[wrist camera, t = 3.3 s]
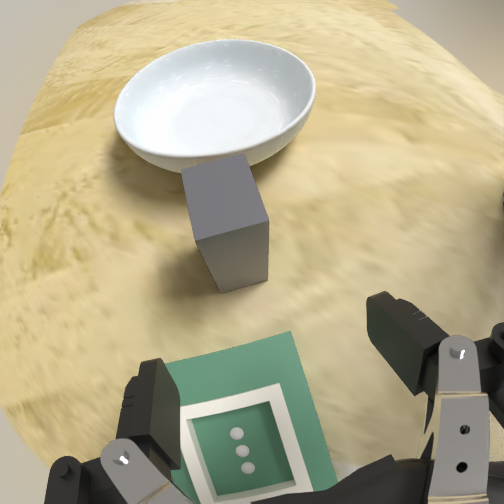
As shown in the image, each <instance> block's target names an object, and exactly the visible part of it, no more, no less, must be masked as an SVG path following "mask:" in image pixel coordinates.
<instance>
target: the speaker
mask: <svg viewBox="0 0 504 504" xmlns="http://www.w3.org/2000/svg"><path fill="white" fill-rule="evenodd" d="M488 475H493V476H499V477H504V461H498V462H489V468H488Z"/></svg>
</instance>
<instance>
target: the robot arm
mask: <svg viewBox="0 0 504 504" xmlns="http://www.w3.org/2000/svg"><path fill="white" fill-rule="evenodd" d="M503 200H504V197H503ZM366 306H367V332H368V336H369V338H370V341H371V342H372V344H373V345H374V346H375V347H376V349H377V350H378V351H379V352H380V354H381V355H382V356H383V357H384V359H385V360H386V361H387V362H388V363H389V365H390V366H391V367H392V368H393V370H394V371H395V372H396V373H397V375H398V376H399V377H400V379H401V380H402V381H403V382H404V384H405V385H406V386H407V387H408V389H409V390H410V391H411V393H412V394H413V395H414V396H416V395H418V394H419V393H421V392H423V391H425V393H426V394H427V398H426V406H425V415H424V423H423V430H422V437H421V442H420V446H419V449H418V452H417V456H416V458H413V459H402V460H397V461H395V460H394V458H393V457H392V455H391V454H390V455H388V456H386V457H384V458H382V459H380V460H378V461H375V462H373V463H371V464H369V465H366V466H364V467H362V468H359V469H358V470H356V471H355V472H353V473H352V474H351V475H349V476H348V477H346V478H345V479H343V480H341V481H340V482H338V483H337V484H335V485H334V486H332V487H330V488H328V489H326V490H322V491H313V492H302V493H288V494H283V495H279V496H275V497H271V498H267V499H262V500H257V501H253V502H250V503H251V504H504V477H499V476H493V475H488V468H489V445H490V424H489V410H490V412H491V413H492V414H493V415H494V417H495V418H496V419H497V421H498V422H499V423H500V425H501V426H502V427H503V428H504V322H502V323H499V324H497V325H495V326H494V328H493V329H492V333H491V336H490V337H489V338H486V339H482V340H479V341H475V342H473V341H472V340H470V339H469V338H467V337H464V336H460V335H454V336H449V335H448V334H447V333H446V332H445V331H443V330H442V329H441V328H440V327H439V326H438V325H437V324H435V323H434V322H433V321H432V320H431V319H430V318H429V317H426V315H425V314H424V313H423V312H422V311H420V310H419V309H418V308H417V307H416V306H414V305H413V304H412V303H411V302H408V301H405V300H403V299H397V300H396V299H395V298H394V297H392V296H391V295H390V294H389V293H388V292H386V291H383V292H381V293H378V294H375V295H373V296H370V297H368V298H367V301H366ZM123 398H124V400H123V402H122V408H121V412H120V418H119V423H118V429H117V434H116V440H114V441H112V442H110V443H109V444H107V445H106V446H105V448H104V449H103V451H102V453H101V457H99V458H96V459H93V460H90V461H87V462H84V463H80V462H79V461H78V460H77V459H76V458H74V457H71V456H64V457H61V458H59V459H58V460H56V461H55V462H54V463H53V465H52V467H51V469H50V473H49V478H48V484H47V490H46V495H45V502H44V504H196V503H195V502H194V501H193V500H192V499H191V498H190V497H189V496H188V495H187V494H185V493H184V492H183V491H182V490H181V489H180V488H179V487H178V486H177V485H176V484H175V483H174V482H173V481H172V480H171V470H179V469H181V447H180V394H179V391H178V388H177V385H176V384H175V382H174V380H173V378H172V376H171V375H170V373H169V371H168V369H167V367H166V366H165V364H164V362H163V360H162V359H161V358H157V359H152V360H147V361H143V362H141V364H140V368H139V373H138V376H134V377H132V378H131V380H130V381H129V383H128V384H127V386H126V388H125V393H124V397H123Z"/></svg>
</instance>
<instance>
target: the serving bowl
mask: <svg viewBox="0 0 504 504" xmlns="http://www.w3.org/2000/svg"><path fill="white" fill-rule="evenodd" d="M315 96H316V83H315V79H314V76H313V74H312V72H311V70H310V69H309V68H308V66H307V65H306V64H305V63H304V62H303V61H302V60H301V59H299V58H298V57H297V56H295V55H294V54H292V53H290V52H289V51H287V50H284V49H282V48H280V47H277V46H274V45H271V44H267V43H263V42H258V41H251V40H240V39H226V40H214V41H207V42H201V43H197V44H193V45H189V46H186V47H183V48H180V49H177V50H174V51H172V52H170V53H167V54H165V55H163V56H161V57H159V58H158V59H156V60H154V61H153V62H151V63H149V64H148V65H147V66H145V67H144V68H143V69H141V70H140V71H139V72H138V73H137V74H135V75H134V76H133V77H132V78H131V79H130V80H129V82H128V83H127V84H126V85H125V87H124V88H123V89H122V91H121V93H120V94H119V96H118V98H117V101H116V104H115V108H114V123H115V127H116V129H117V132H118V134H119V135H120V136H121V138H122V139H123V140H124V141H125V143H126V144H127V145H128V146H129V147H130V148H131V149H132V150H133V151H134V152H135V153H136V154H137V155H139V156H140V157H141V158H143V159H144V160H146V161H148V162H149V163H151V164H153V165H155V166H158V167H160V168H163V169H166V170H169V171H173V172H178V173H181V169H185V168H188V167H192V166H195V165H199V164H203V163H206V162H210V161H214V160H218V159H222V158H225V157H229V156H233V155H238V154H242V153H245V156H246V159H247V161H248V164H249V166H252V165H254V164H257V163H259V162H261V161H263V160H265V159H267V158H269V157H271V156H272V155H274V154H275V153H277V152H278V151H280V150H281V149H283V148H284V147H285V146H286V145H287V144H288V143H290V142H291V141H292V140H293V139H294V138H295V136H296V135H297V134H298V133H299V132H300V130H301V129H302V127H303V126H304V124H305V123H306V121H307V119H308V117H309V115H310V112H311V109H312V106H313V103H314V100H315Z"/></svg>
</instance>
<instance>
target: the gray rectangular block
mask: <svg viewBox="0 0 504 504" xmlns="http://www.w3.org/2000/svg"><path fill="white" fill-rule="evenodd" d="M181 175H182V180H183V185H184V190H185V196H186V201H187V206H188V210H189V215H190V220H191V225H192V230H193V234H194V239H195V242H196V244H197V246H198V248H199V250H200V252H201V254H202V256H203V258H204V260H205V262H206V264H207V267H208V269H209V271H210V273H211V275H212V277H213V279H214V281H215V282H216V284H217V286H218V288H219V290H220V292H221V293H224V292H228V291H232V290H235V289H239V288H243V287H246V286H250V285H253V284H257V283H260V282H264V281H267V280H268V253H269V218H268V216H267V213H266V210H265V207H264V205H263V202H262V199H261V196H260V194H259V191H258V188H257V186H256V183H255V180H254V177H253V175H252V172H251V169H250V167H249V164H248V161H247V159H246V156H245V153H242V154H238V155H233V156H229V157H225V158H222V159H218V160H214V161H210V162H206V163H203V164H199V165H195V166H192V167H188V168H185V169H181Z"/></svg>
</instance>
